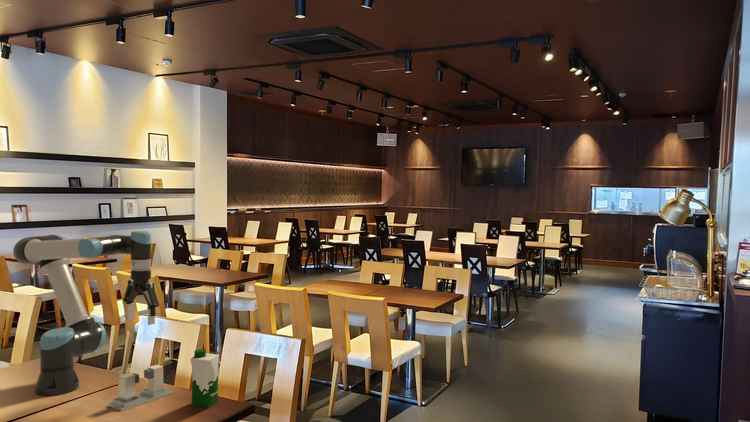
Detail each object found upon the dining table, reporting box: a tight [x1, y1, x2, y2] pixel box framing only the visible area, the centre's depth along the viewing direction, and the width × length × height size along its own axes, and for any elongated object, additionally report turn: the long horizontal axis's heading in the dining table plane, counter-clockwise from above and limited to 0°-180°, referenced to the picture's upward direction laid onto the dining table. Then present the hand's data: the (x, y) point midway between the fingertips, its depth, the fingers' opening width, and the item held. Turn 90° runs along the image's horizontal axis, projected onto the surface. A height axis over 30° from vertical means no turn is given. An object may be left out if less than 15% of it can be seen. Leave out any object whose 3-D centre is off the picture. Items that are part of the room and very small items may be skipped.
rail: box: [107, 372, 173, 412], centre depth 212 cm, size 8×22×11 cm, turn 147°
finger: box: [143, 364, 164, 393], centre depth 216 cm, size 6×4×10 cm, turn 147°
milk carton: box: [190, 348, 220, 409], centre depth 208 cm, size 9×9×20 cm
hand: (140, 321), depth 224 cm, fingers open, 13 cm apart
